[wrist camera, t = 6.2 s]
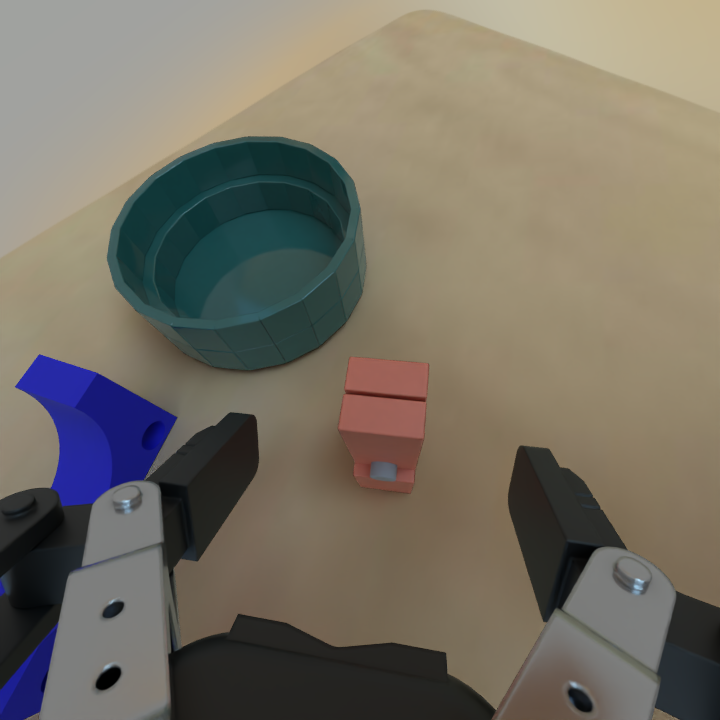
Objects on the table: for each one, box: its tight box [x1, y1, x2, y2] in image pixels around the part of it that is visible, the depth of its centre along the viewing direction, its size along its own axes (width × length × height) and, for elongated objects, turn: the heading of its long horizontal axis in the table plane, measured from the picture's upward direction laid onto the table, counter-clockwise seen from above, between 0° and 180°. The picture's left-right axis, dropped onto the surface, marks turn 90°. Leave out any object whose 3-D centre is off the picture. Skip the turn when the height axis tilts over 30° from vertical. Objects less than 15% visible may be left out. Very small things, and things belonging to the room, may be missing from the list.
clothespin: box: [338, 357, 429, 493], centre depth 15 cm, size 2×3×8 cm
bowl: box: [107, 136, 367, 370], centre depth 22 cm, size 13×13×5 cm
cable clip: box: [0, 354, 177, 720], centre depth 15 cm, size 12×4×6 cm, turn 162°
